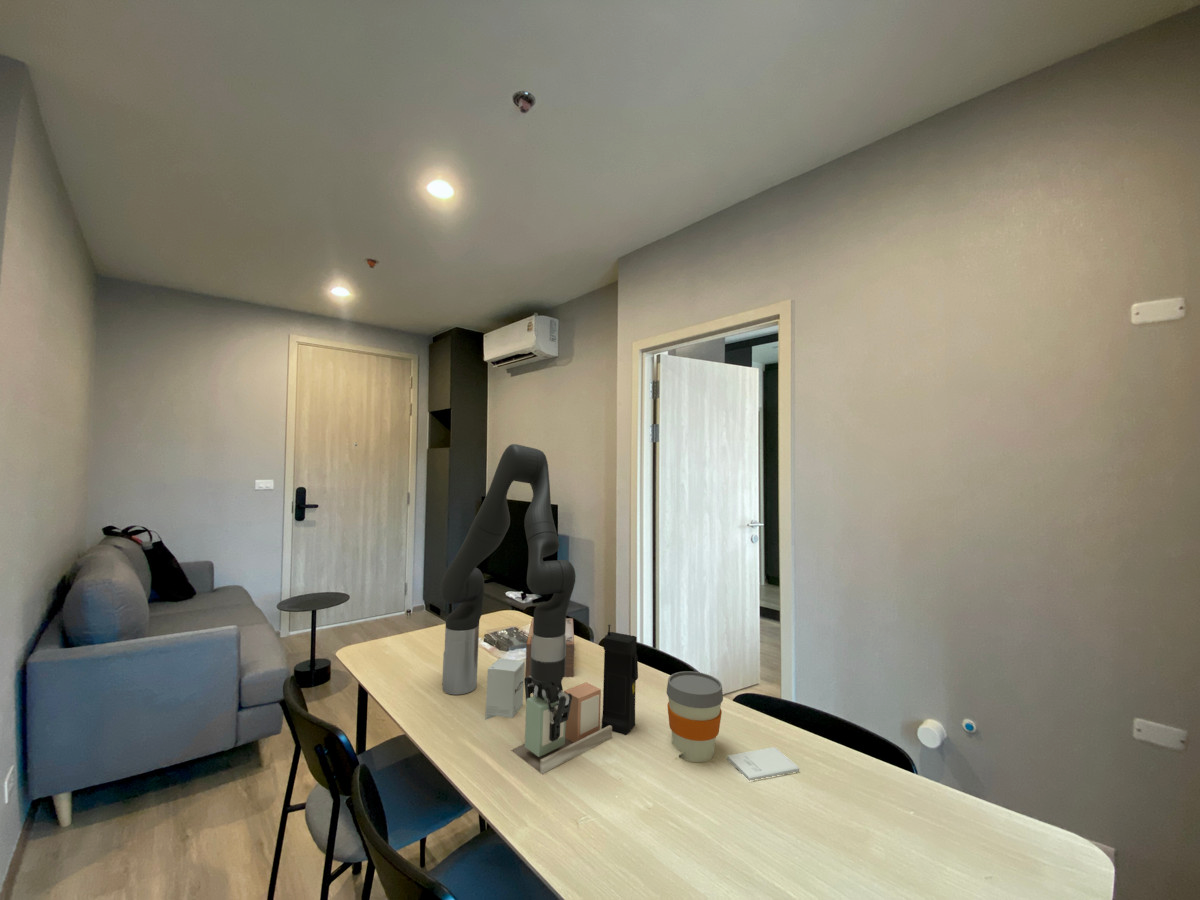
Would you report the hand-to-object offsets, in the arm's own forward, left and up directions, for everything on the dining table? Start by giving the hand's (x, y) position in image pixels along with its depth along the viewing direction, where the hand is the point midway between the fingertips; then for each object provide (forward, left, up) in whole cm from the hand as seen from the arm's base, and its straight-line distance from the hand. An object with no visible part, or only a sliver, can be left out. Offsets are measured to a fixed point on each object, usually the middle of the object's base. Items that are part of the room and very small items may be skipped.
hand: (545, 733), depth 103 cm
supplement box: (-21, +4, -6) cm, 22 cm away
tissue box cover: (-41, +35, -6) cm, 55 cm away
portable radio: (+4, +20, -6) cm, 21 cm away
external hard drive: (+33, +33, -6) cm, 47 cm away
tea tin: (0, 0, -3) cm, 3 cm away
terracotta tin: (0, +10, -4) cm, 11 cm away
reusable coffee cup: (+20, +27, -6) cm, 34 cm away
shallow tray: (0, +5, -5) cm, 7 cm away
